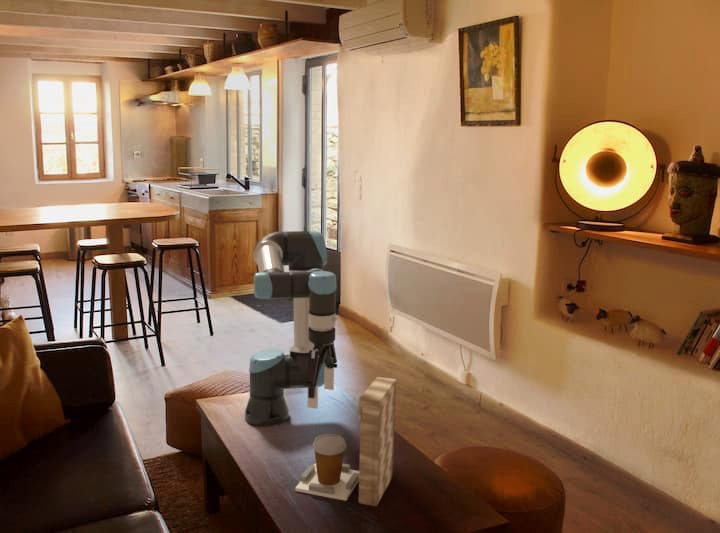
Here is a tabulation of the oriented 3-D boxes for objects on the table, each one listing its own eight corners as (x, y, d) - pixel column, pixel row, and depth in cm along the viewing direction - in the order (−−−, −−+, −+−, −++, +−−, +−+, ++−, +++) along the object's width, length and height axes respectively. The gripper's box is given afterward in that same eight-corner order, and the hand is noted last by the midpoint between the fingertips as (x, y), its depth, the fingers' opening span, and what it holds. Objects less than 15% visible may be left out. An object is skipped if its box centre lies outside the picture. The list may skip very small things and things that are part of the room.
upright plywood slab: (374, 473, 201) (377, 376, 195) (392, 476, 200) (396, 379, 194) (356, 502, 186) (359, 398, 180) (376, 506, 184) (379, 401, 178)
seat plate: (315, 466, 205) (315, 458, 204) (362, 474, 200) (363, 467, 200) (295, 491, 191) (295, 482, 190) (346, 500, 186) (346, 492, 186)
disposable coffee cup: (341, 490, 190) (342, 450, 187) (308, 486, 192) (308, 446, 189) (348, 473, 199) (349, 435, 197) (317, 470, 201) (317, 431, 198)
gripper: (319, 342, 178) (318, 418, 183) (348, 316, 202) (346, 383, 206) (292, 339, 180) (292, 413, 185) (324, 313, 204) (323, 380, 209)
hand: (320, 398), depth 196 cm, fingers open, 13 cm apart
